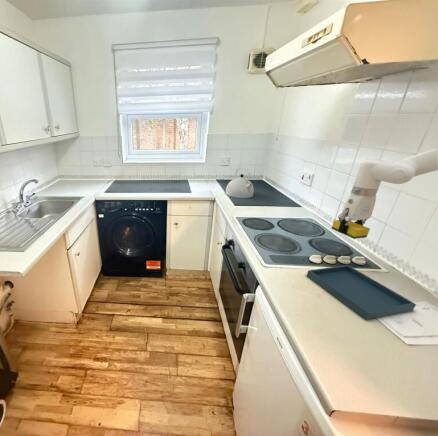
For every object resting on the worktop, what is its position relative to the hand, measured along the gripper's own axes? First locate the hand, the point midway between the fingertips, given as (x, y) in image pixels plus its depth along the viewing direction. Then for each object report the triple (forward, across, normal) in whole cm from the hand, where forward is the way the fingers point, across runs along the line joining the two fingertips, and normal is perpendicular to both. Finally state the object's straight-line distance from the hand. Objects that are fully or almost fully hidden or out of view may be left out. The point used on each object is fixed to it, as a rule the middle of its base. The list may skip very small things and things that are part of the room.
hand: (348, 231), depth 100 cm
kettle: (+16, +16, +104) cm, 106 cm away
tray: (+15, -12, -17) cm, 26 cm away
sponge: (+1, 0, 0) cm, 1 cm away
